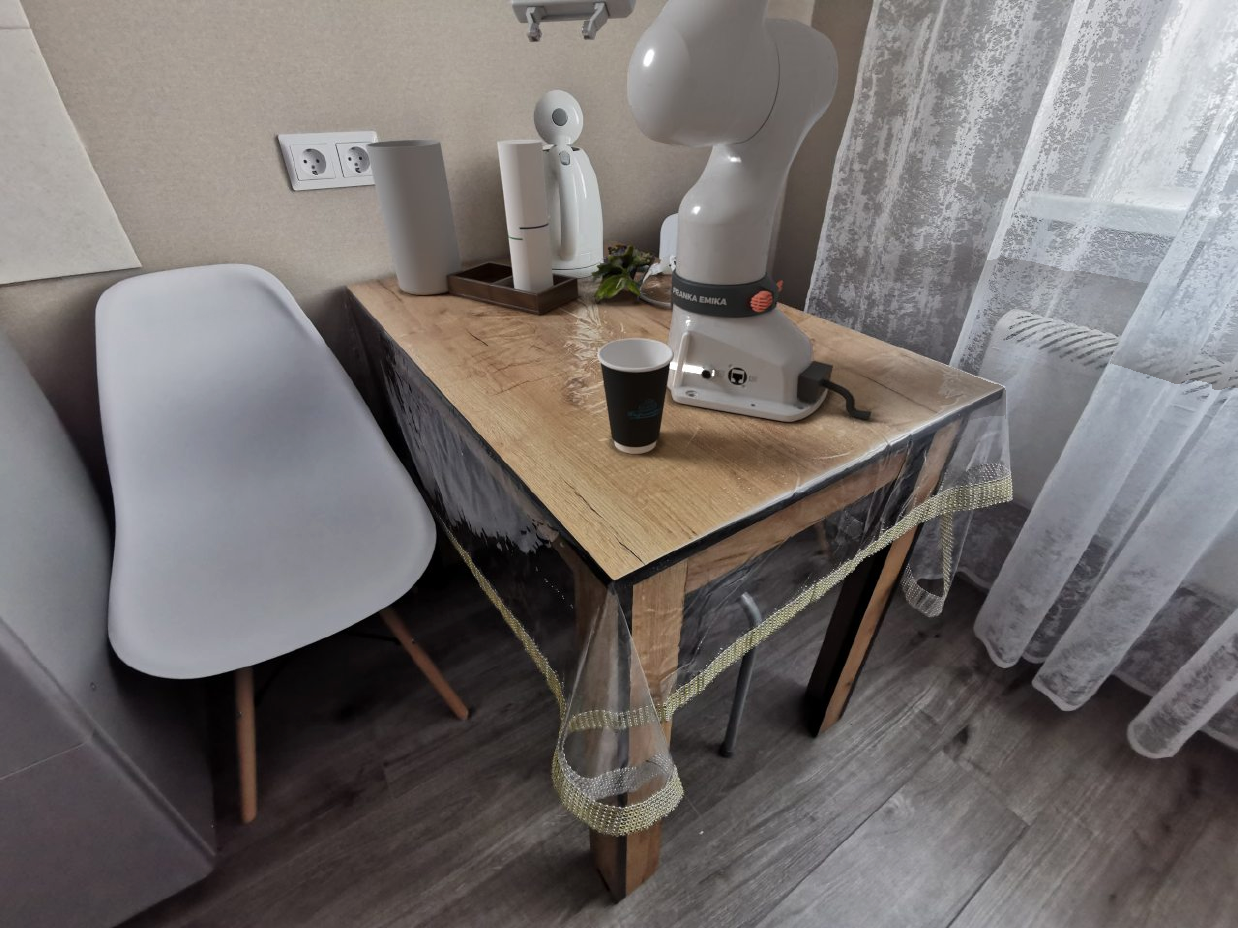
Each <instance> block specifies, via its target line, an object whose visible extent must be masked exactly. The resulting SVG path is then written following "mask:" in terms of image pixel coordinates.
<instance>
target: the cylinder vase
mask: <svg viewBox="0 0 1238 928" xmlns="http://www.w3.org/2000/svg"><path fill="white" fill-rule="evenodd" d="M365 148H366V152H367V157H368V161H369V165H370V170H371V173H372V177H373V178H372V179H373V182H374V186H375V190H376V195H377V199H378V203H379V207H380V212H381V215H382V220H383V224H384V228H385V233H386V237H387V240H388V241H387V242H388V245H389V249H390V253H391V257H392V263H393V266H394V271H395V274H396V278H397V283H398V287H399V288H400V290H401V291H403V292H404V293H407V294H410V295H416V296H418V295H419V296H431V295H440V294H444V293H445V294H446V293H449V287H448V282H447V277H446V276H447V275H450V274H453V273H455V272H458V271H461V270H463V267H462V261H461V255H460V249H459V243H458V237H457V231H456V225H455V220H454V214H453V209H452V203H451V195H450V191H449V185H448V179H447V173H446V168H445V167H446V166H445V162H444V156H443V150H442V144H441V141H440V140H435V139H434V140H432V139H404V140H387V141H377V142H371V143H367V144H365Z"/></svg>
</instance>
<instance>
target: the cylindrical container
mask: <svg viewBox="0 0 1238 928" xmlns="http://www.w3.org/2000/svg"><path fill="white" fill-rule="evenodd" d="M496 142H497V151H498V152H497V153H498V159H499V161H498V162H499V168H500V177H501V185H502V191H503V192H502V193H503V202H504V211H505V220H506V227H507V228H506V229H507V236H508V243H509V246H508V247H509V253H510V263H511V265H512V271H513V279H514V288H515V289H519V290H524V291H529V292H533V293H539V292H541V291H543V290H545V289H548V288H550V287H552V286H553V274H552V273H553V262H552V249H551V238H550V237H551V236H550V224H549V212H548V200H547V199H548V198H547V186H546V175H545V174H546V173H545V160H544V148H543V147H544V146H543V141H542V140H541V139H507V140H500V141H499V140H498V141H496Z"/></svg>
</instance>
